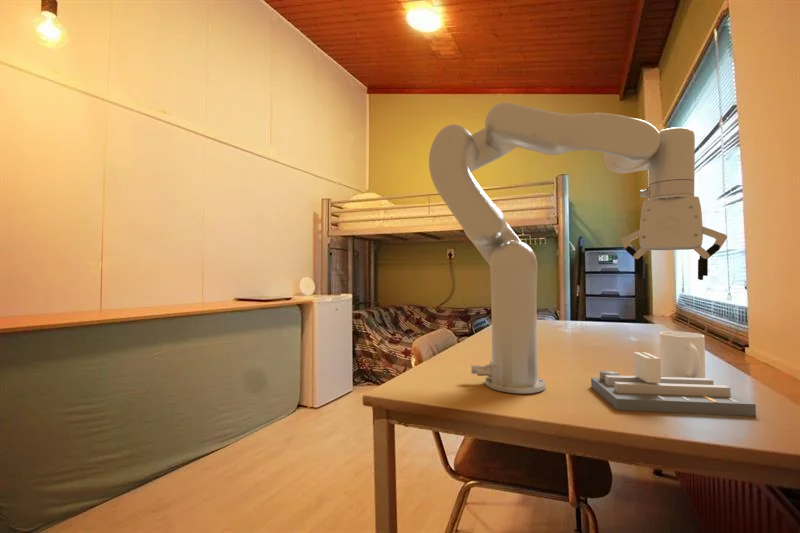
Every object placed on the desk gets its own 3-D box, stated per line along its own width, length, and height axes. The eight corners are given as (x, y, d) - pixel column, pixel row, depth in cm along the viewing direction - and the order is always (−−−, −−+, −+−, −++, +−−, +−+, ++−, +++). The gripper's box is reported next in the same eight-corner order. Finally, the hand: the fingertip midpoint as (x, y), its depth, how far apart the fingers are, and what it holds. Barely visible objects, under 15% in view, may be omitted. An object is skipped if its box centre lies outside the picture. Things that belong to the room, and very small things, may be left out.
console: (617, 410, 70) (616, 389, 70) (591, 386, 84) (591, 369, 84) (755, 416, 66) (755, 394, 66) (705, 390, 80) (704, 372, 80)
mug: (721, 391, 80) (720, 340, 80) (674, 387, 82) (673, 339, 83) (695, 375, 92) (694, 332, 92) (655, 373, 94) (654, 330, 94)
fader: (645, 391, 73) (644, 357, 73) (632, 383, 78) (631, 351, 78) (662, 392, 72) (662, 358, 72) (648, 383, 78) (648, 351, 78)
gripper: (617, 195, 80) (617, 278, 80) (727, 184, 69) (727, 280, 69) (624, 200, 86) (624, 278, 86) (727, 191, 75) (726, 280, 75)
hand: (670, 279), depth 77 cm, fingers open, 9 cm apart
